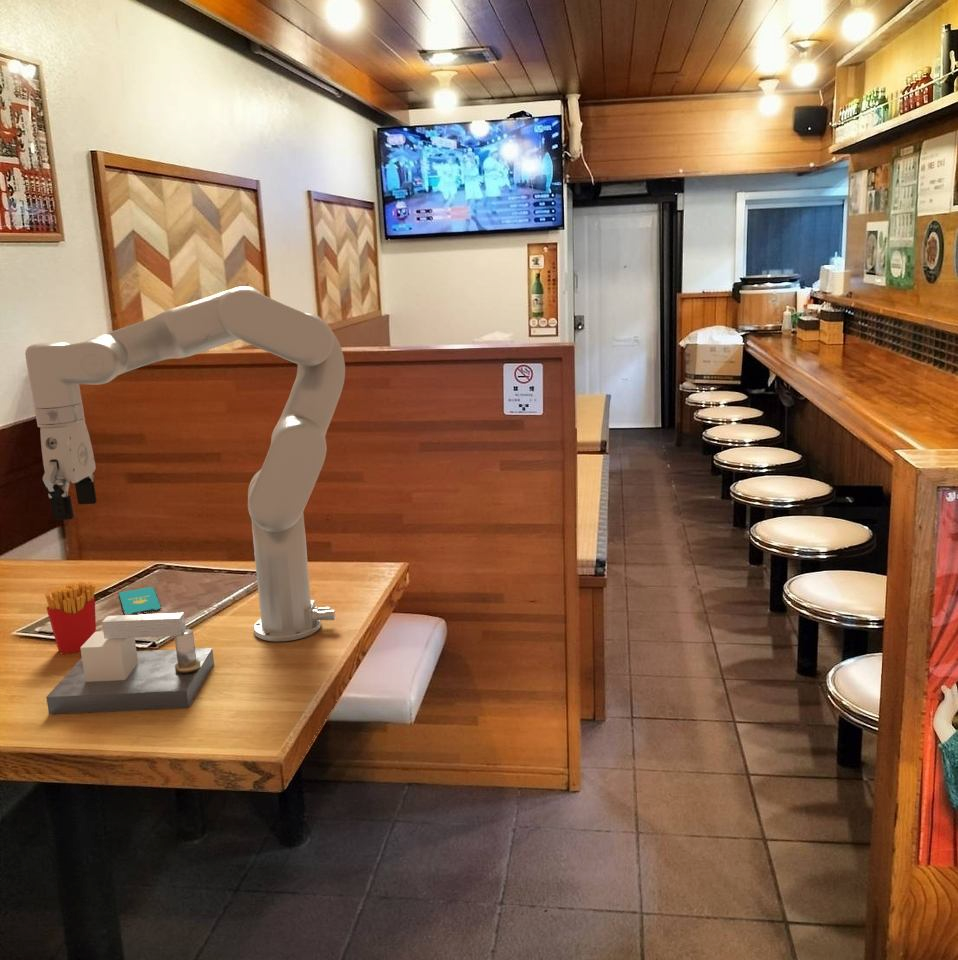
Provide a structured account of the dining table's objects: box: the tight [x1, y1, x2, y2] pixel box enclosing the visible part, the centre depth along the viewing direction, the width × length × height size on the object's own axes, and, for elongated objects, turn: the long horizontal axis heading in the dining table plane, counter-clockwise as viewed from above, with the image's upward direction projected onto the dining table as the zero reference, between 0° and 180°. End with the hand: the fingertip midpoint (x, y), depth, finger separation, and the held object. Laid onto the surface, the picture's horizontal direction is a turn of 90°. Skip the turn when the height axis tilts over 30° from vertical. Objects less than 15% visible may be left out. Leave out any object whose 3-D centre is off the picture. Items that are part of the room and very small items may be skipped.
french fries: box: [44, 581, 97, 654], centre depth 168 cm, size 8×4×12 cm, turn 129°
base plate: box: [45, 647, 215, 715], centre depth 152 cm, size 22×16×3 cm
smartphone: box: [118, 586, 162, 614], centre depth 191 cm, size 7×1×15 cm
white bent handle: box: [101, 612, 200, 673], centre depth 151 cm, size 14×4×9 cm, turn 92°
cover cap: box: [80, 630, 138, 682], centre depth 151 cm, size 6×6×6 cm
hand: (76, 511), depth 161 cm, fingers open, 9 cm apart
